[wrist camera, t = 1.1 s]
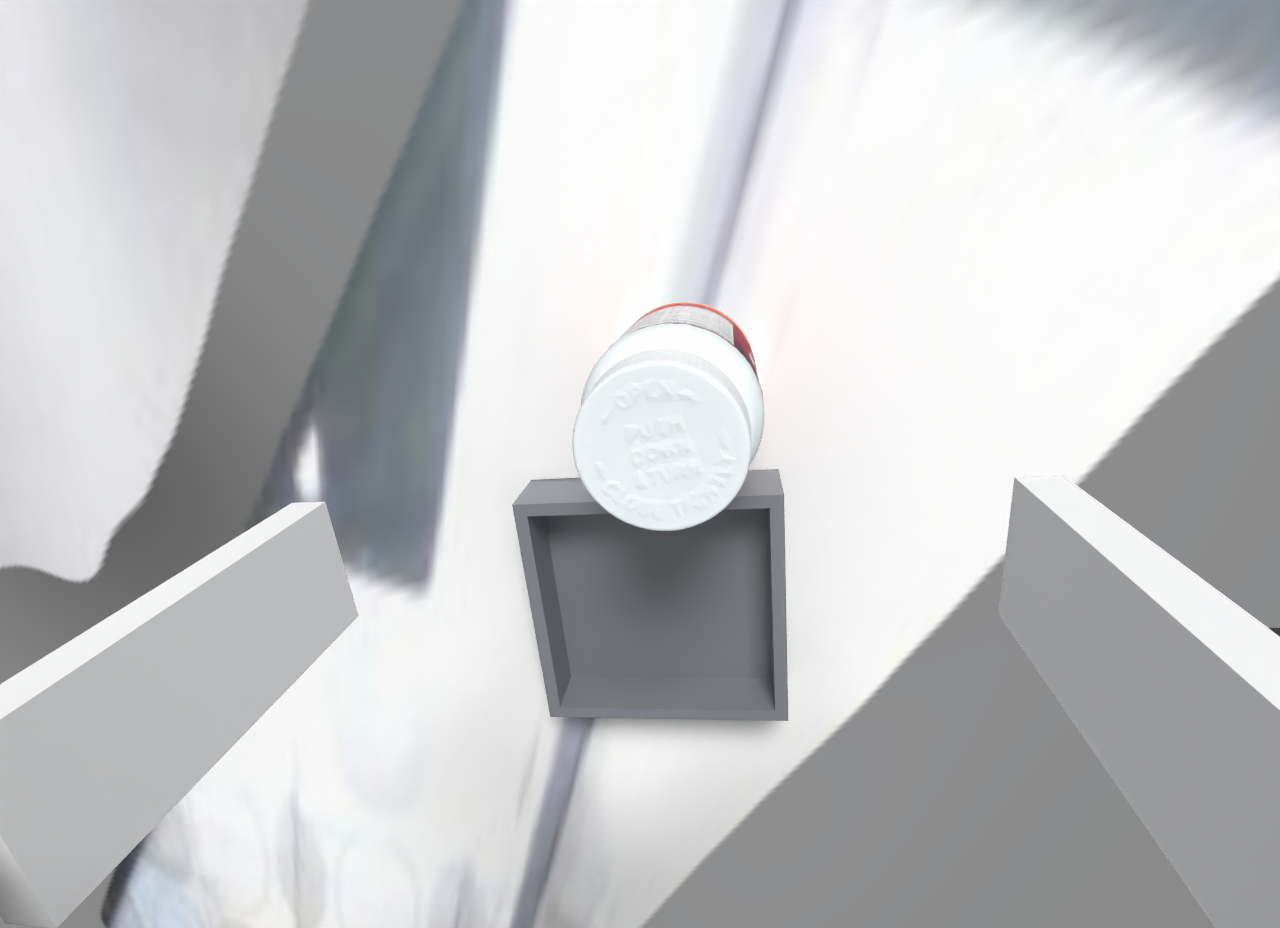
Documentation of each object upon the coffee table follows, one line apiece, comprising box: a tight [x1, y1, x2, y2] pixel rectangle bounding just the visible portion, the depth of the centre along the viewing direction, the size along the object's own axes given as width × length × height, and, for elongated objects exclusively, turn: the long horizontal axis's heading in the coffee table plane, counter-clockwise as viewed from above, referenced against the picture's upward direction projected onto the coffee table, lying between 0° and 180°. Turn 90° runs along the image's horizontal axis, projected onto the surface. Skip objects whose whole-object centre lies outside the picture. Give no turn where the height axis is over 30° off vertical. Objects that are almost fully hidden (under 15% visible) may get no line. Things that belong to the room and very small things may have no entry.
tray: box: [512, 469, 788, 721], centre depth 31 cm, size 12×12×3 cm
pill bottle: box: [573, 302, 764, 531], centre depth 23 cm, size 6×6×11 cm
